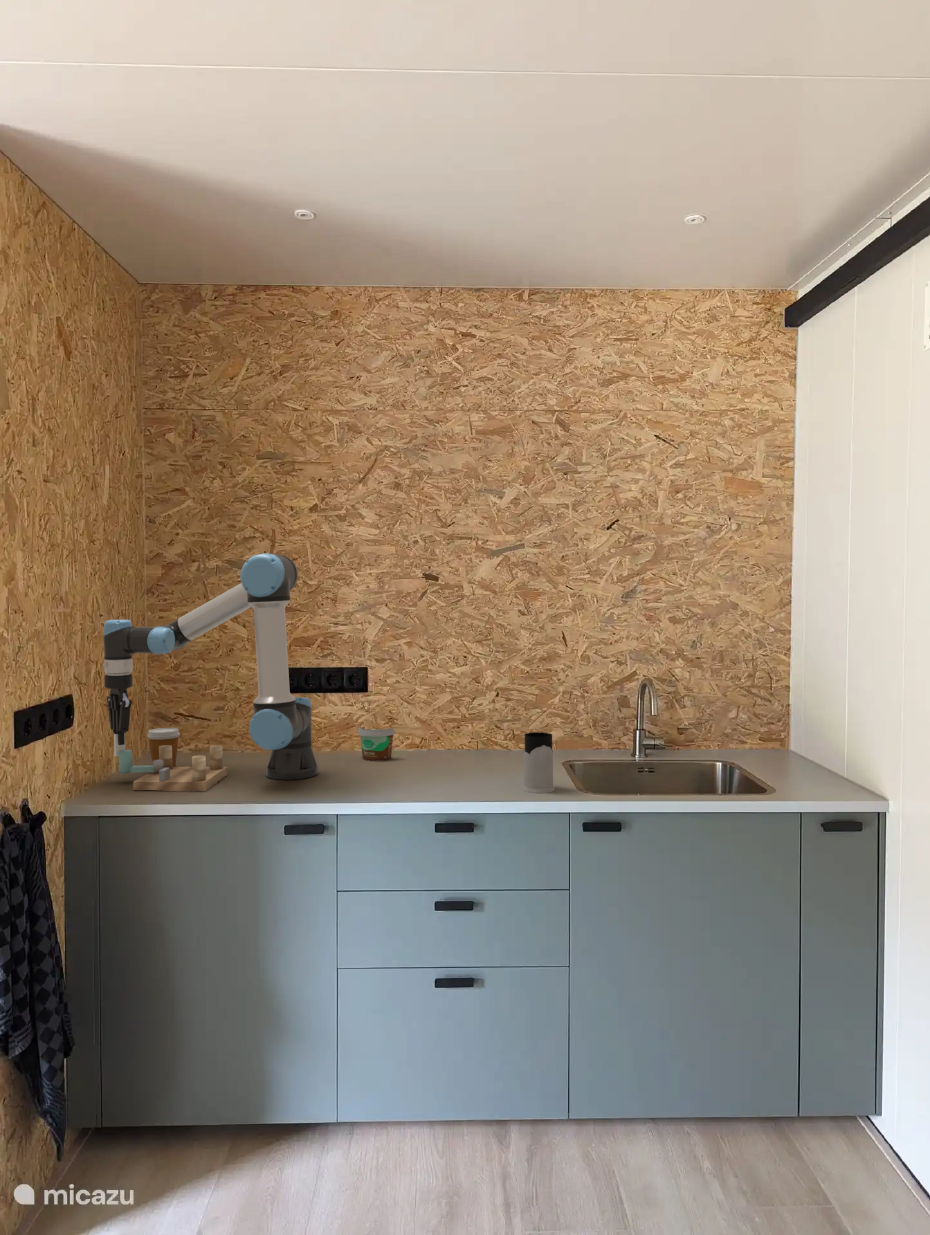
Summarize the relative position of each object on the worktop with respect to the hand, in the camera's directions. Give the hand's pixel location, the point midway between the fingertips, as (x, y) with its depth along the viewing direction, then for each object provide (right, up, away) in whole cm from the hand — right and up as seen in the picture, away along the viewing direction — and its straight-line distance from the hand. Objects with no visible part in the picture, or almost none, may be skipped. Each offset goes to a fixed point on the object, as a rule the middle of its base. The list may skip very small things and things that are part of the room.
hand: (119, 755), depth 261 cm
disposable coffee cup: (+7, -7, +16) cm, 19 cm away
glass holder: (+118, -7, -10) cm, 119 cm away
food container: (+70, -6, +29) cm, 76 cm away
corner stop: (+16, -5, -10) cm, 19 cm away
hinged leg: (+6, -4, -1) cm, 8 cm away
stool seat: (+19, -7, -2) cm, 20 cm away
